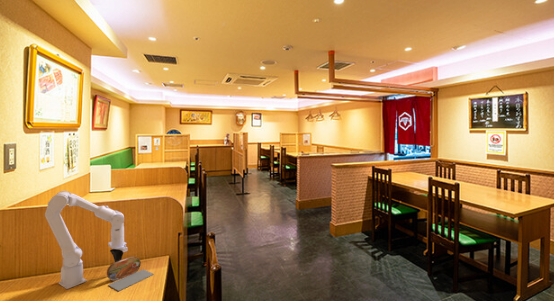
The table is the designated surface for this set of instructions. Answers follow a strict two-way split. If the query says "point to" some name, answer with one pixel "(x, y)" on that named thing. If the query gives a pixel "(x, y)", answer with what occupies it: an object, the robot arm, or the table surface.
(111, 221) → the robot arm
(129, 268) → the tin
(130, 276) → the slate mat
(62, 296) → the table surface
